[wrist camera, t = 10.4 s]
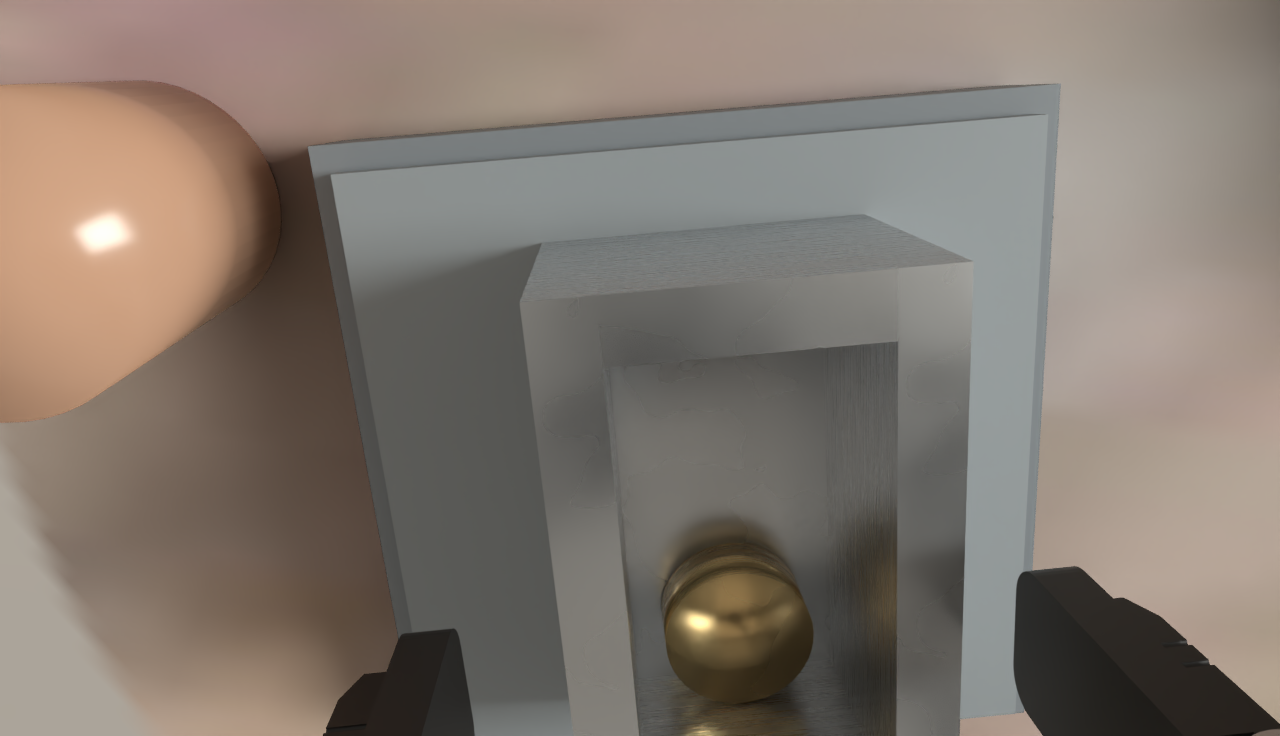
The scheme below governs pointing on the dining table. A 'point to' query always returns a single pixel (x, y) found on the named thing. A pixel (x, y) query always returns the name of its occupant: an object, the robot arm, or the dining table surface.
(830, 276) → the housing
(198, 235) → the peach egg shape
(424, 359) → the plinth
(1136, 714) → the robot arm
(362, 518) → the dining table surface
